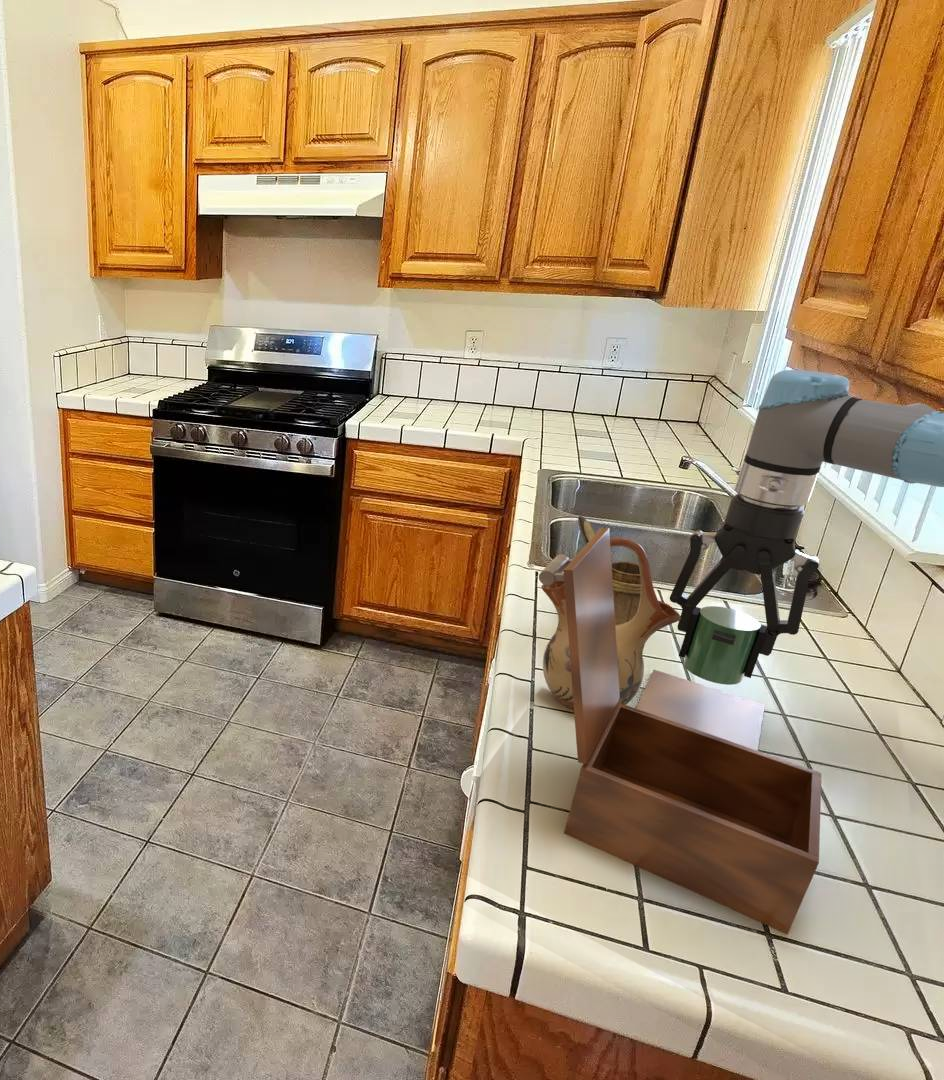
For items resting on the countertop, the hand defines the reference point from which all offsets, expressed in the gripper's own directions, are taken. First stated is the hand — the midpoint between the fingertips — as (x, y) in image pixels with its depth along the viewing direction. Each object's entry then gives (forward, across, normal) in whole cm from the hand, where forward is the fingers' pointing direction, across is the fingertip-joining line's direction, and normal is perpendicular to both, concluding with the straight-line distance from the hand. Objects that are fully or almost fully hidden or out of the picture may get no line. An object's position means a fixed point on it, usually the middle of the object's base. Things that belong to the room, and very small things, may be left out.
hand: (715, 662), depth 101 cm
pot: (+1, 0, 0) cm, 1 cm away
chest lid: (-12, -11, -30) cm, 34 cm away
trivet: (+8, 0, 0) cm, 8 cm away
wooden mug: (+8, -17, +18) cm, 26 cm away
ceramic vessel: (+8, -13, -10) cm, 18 cm away
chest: (+8, +2, -30) cm, 31 cm away
